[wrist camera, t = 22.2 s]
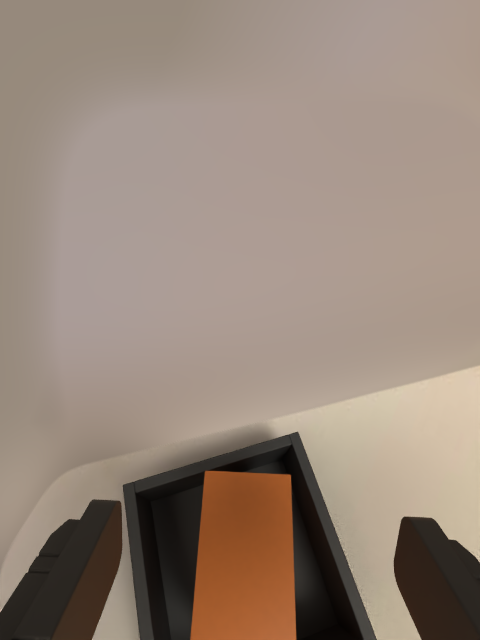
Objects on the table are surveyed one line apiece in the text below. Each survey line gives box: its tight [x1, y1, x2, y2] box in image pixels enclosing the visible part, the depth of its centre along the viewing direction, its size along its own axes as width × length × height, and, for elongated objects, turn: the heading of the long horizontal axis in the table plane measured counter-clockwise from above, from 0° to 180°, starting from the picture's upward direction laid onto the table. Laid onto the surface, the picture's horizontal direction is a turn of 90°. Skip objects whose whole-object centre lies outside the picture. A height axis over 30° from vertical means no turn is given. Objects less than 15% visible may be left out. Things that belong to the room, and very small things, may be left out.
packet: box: [190, 471, 296, 640], centre depth 23 cm, size 5×9×12 cm, turn 178°
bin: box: [123, 432, 377, 640], centre depth 26 cm, size 14×14×7 cm
